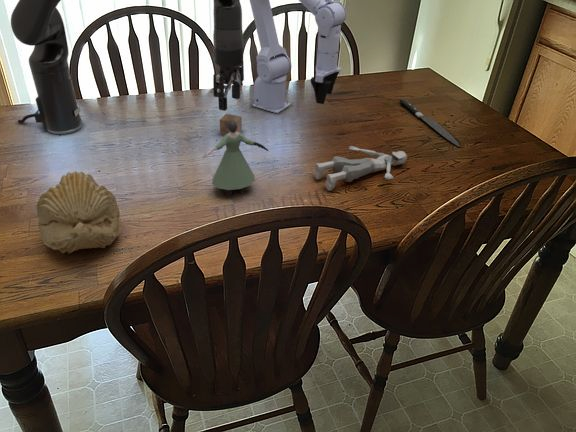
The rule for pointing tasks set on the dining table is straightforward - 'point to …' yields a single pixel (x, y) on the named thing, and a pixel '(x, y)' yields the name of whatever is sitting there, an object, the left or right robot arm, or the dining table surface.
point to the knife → (429, 121)
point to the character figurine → (233, 162)
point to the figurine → (358, 166)
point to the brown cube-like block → (228, 117)
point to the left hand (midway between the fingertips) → (229, 104)
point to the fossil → (78, 214)
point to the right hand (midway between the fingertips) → (323, 98)
